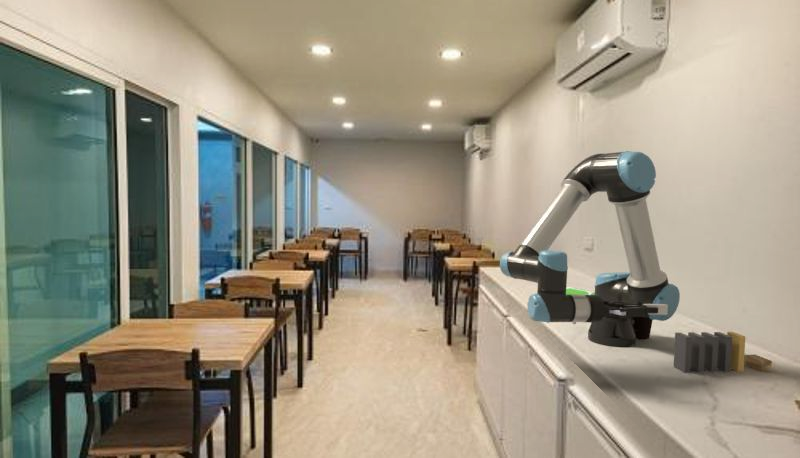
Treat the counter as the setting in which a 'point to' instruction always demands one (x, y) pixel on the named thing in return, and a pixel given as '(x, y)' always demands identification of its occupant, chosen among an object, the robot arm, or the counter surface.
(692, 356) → the domino
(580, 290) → the speaker
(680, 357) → the domino
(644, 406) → the counter surface
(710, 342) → the domino
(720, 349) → the domino
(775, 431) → the counter surface
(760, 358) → the block
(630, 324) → the robot arm
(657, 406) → the counter surface
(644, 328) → the coffee mug
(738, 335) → the domino
